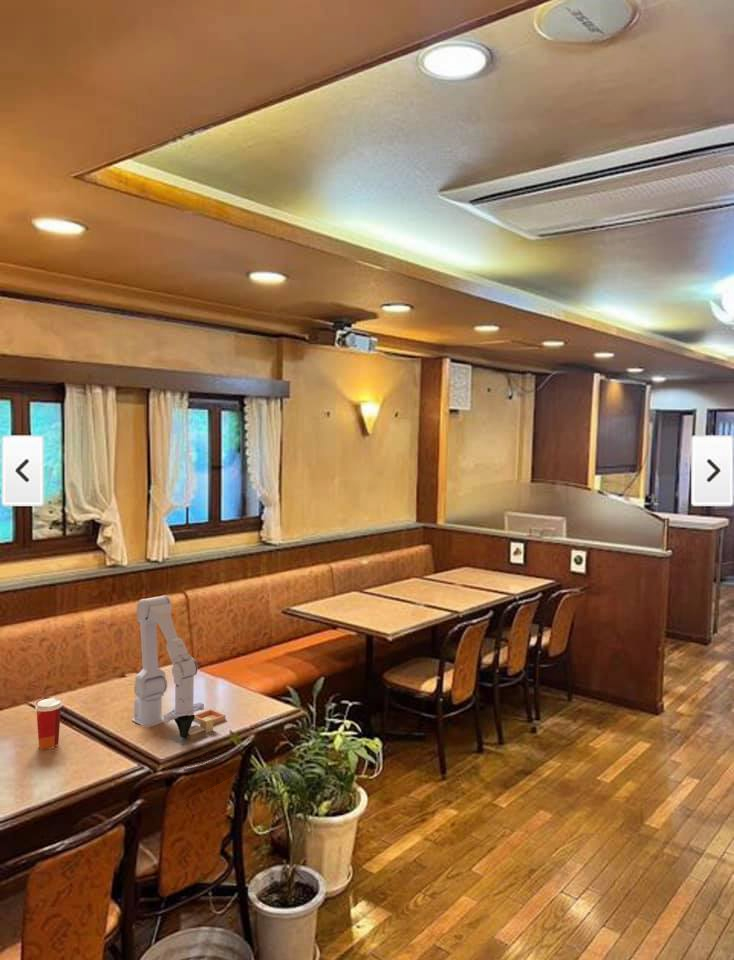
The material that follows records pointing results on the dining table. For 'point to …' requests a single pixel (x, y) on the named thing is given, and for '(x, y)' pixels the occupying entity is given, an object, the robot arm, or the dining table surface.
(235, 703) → the dining table surface
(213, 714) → the tray
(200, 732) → the brown rectangular block
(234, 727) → the dining table surface
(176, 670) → the robot arm
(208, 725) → the bench
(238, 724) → the dining table surface
